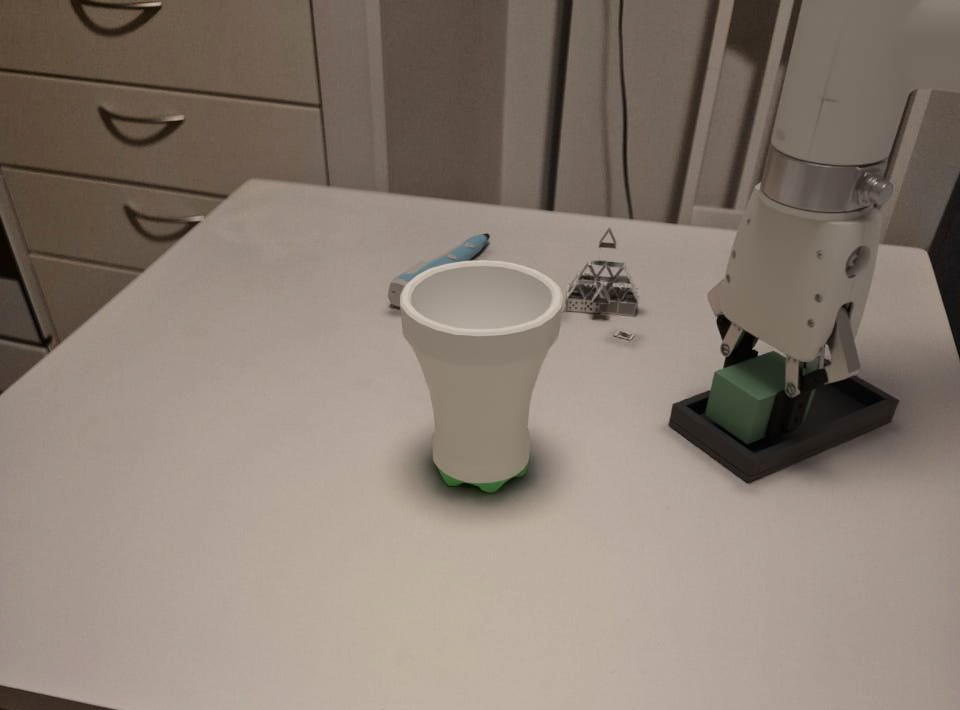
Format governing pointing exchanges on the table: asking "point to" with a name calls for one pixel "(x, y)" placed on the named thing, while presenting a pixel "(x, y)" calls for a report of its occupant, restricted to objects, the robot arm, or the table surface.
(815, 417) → the tray
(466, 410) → the cup
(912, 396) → the table surface
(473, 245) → the blue elongated piece
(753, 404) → the green block
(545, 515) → the table surface
